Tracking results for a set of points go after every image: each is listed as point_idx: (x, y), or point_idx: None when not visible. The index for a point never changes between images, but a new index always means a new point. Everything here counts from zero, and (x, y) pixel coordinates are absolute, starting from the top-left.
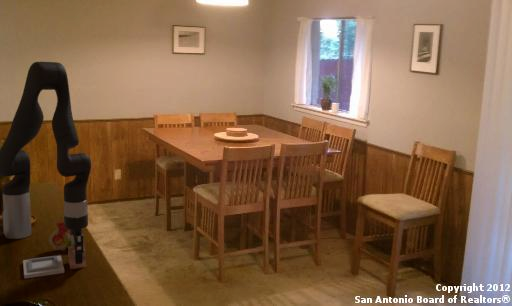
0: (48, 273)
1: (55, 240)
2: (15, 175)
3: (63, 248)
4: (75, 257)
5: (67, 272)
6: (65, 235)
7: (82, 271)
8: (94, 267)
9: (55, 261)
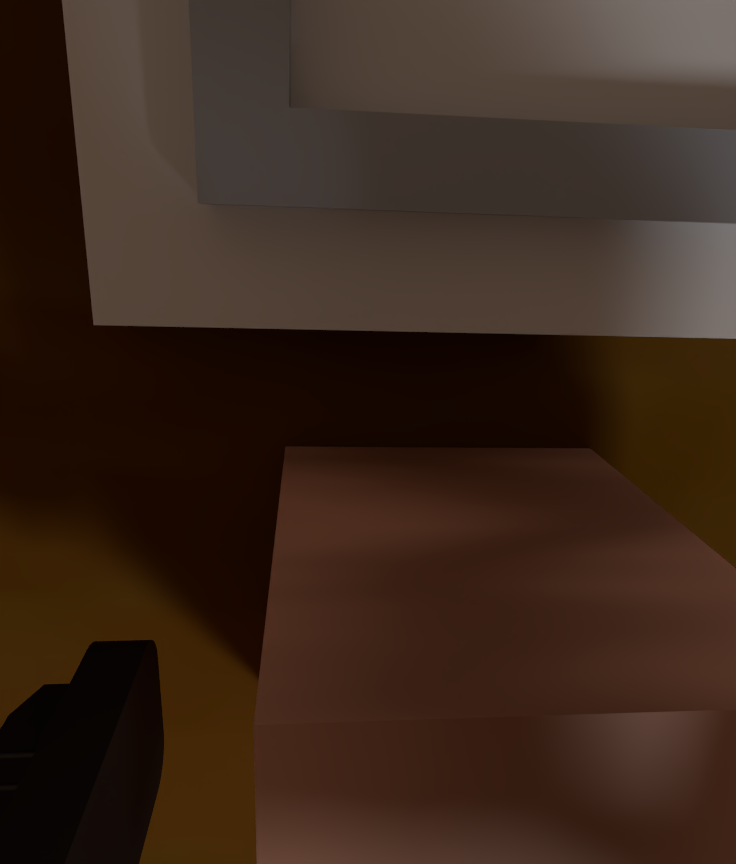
0: None
1: None
2: None
3: None
4: (26, 777)
5: (129, 375)
6: None
7: (98, 637)
8: (214, 816)
9: (563, 147)
